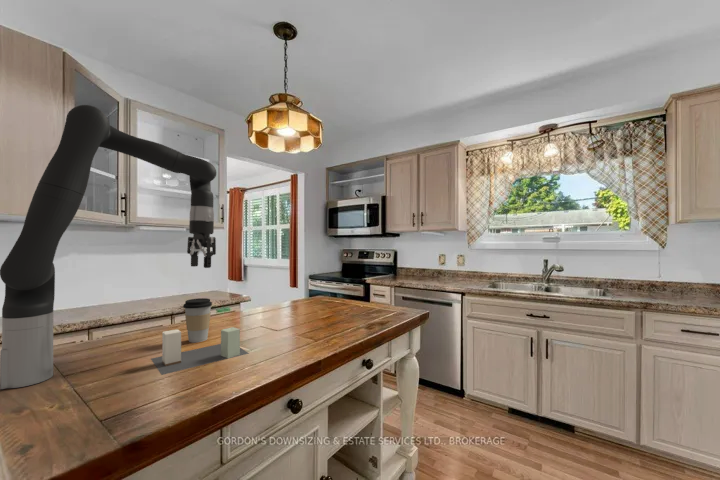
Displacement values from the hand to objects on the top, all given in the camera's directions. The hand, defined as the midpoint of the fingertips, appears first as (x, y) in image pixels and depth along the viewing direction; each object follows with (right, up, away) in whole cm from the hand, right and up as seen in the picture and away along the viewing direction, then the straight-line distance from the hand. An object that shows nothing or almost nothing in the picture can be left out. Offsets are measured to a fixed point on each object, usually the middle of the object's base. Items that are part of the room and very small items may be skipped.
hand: (200, 267), depth 109 cm
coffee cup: (-4, -28, +5) cm, 28 cm away
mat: (+6, -27, -11) cm, 30 cm away
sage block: (+14, -27, -10) cm, 32 cm away
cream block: (0, -27, -16) cm, 31 cm away
